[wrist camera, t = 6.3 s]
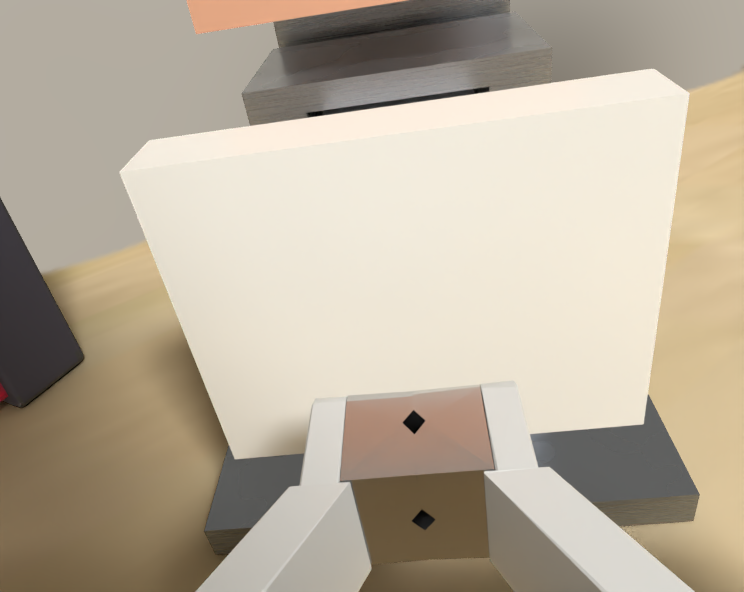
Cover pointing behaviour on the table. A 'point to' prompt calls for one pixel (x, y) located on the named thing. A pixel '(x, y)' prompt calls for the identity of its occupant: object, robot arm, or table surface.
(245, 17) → the orange plunger
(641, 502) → the press rig
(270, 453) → the cream stepped block
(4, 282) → the dark rectangular slab
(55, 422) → the table surface
